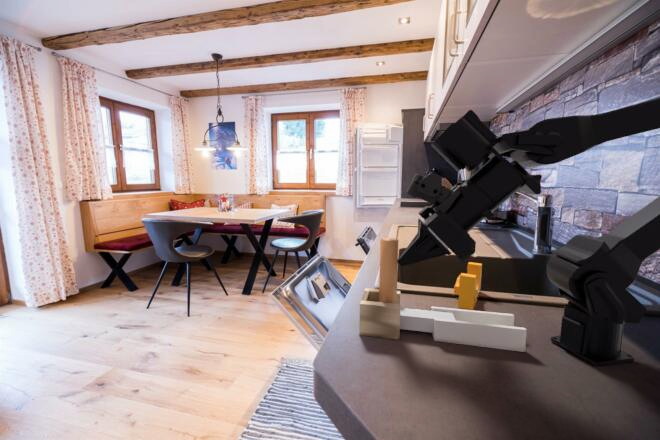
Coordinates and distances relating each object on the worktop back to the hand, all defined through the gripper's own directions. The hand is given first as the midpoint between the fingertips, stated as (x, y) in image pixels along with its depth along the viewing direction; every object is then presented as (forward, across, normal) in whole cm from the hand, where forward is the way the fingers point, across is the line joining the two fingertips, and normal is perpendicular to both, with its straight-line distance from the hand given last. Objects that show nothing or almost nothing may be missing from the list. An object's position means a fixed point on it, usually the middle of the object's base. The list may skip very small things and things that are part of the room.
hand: (399, 263), depth 45 cm
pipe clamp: (-2, -17, +17) cm, 24 cm away
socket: (+9, 0, +6) cm, 11 cm away
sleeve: (-1, 0, +16) cm, 16 cm away
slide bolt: (+6, 0, +9) cm, 10 cm away
